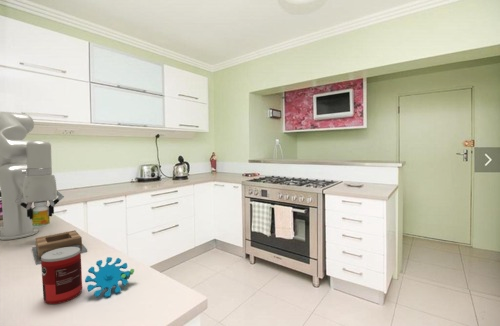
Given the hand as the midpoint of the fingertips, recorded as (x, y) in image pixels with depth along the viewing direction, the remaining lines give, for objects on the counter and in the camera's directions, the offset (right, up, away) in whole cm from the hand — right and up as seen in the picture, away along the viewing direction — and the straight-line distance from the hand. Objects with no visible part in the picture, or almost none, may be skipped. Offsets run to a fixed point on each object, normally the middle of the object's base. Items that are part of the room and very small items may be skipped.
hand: (40, 216), depth 99 cm
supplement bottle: (0, -4, 0) cm, 4 cm away
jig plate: (+14, -11, -9) cm, 20 cm away
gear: (+48, -12, -35) cm, 61 cm away
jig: (+14, -11, -9) cm, 20 cm away
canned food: (+37, -12, -37) cm, 54 cm away
